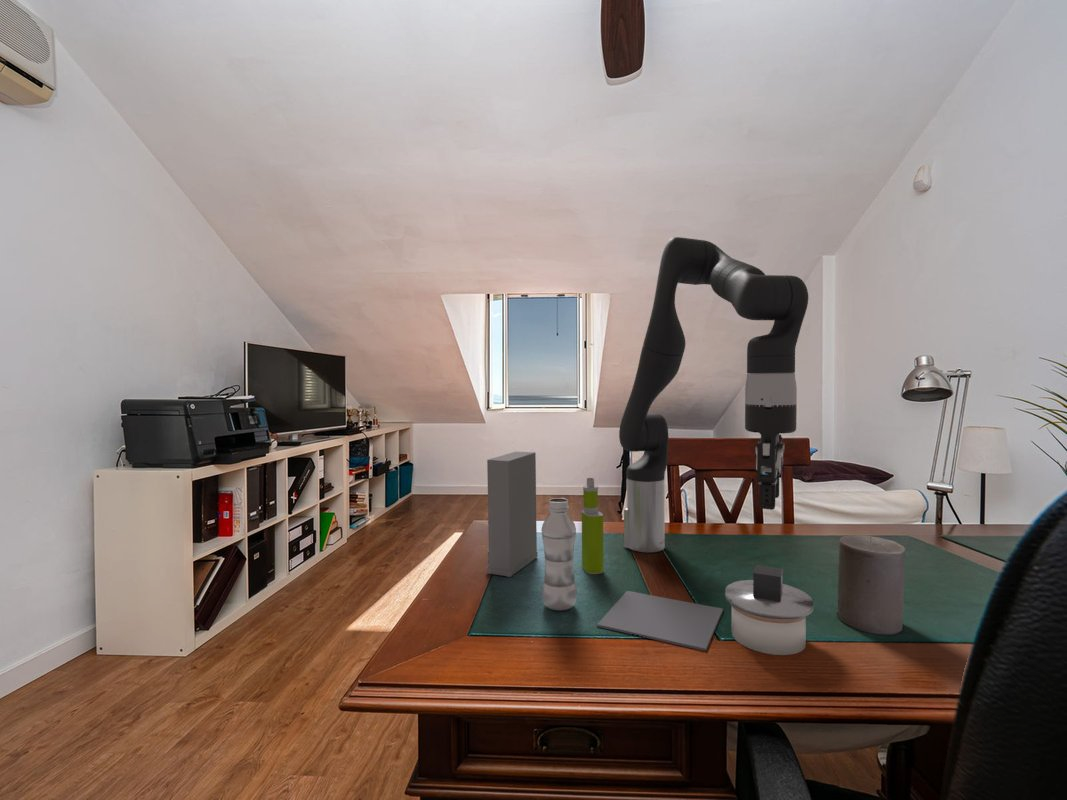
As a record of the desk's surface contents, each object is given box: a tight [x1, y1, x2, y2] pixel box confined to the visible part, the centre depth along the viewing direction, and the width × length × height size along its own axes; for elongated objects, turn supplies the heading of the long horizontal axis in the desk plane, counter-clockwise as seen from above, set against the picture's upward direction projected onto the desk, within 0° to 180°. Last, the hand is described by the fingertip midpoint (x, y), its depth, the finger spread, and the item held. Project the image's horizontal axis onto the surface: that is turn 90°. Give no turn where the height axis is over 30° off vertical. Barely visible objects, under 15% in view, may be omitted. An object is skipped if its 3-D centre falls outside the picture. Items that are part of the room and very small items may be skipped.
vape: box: [581, 477, 604, 575], centre depth 118 cm, size 4×6×20 cm, turn 14°
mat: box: [596, 590, 724, 652], centre depth 94 cm, size 18×16×1 cm
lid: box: [724, 564, 814, 619], centre depth 87 cm, size 13×13×5 cm
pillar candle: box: [836, 534, 906, 635], centre depth 92 cm, size 10×10×15 cm
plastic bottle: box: [541, 497, 578, 611], centre depth 99 cm, size 6×7×20 cm
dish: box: [730, 605, 807, 656], centre depth 87 cm, size 11×11×6 cm
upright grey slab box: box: [485, 450, 539, 578], centre depth 121 cm, size 14×6×25 cm, turn 155°
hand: (769, 502), depth 86 cm, fingers open, 8 cm apart
